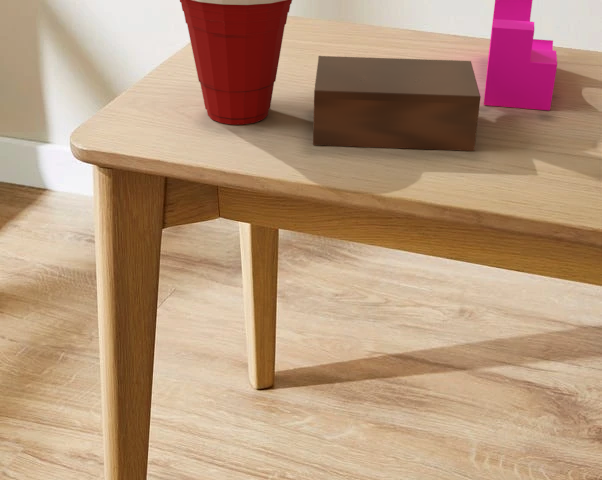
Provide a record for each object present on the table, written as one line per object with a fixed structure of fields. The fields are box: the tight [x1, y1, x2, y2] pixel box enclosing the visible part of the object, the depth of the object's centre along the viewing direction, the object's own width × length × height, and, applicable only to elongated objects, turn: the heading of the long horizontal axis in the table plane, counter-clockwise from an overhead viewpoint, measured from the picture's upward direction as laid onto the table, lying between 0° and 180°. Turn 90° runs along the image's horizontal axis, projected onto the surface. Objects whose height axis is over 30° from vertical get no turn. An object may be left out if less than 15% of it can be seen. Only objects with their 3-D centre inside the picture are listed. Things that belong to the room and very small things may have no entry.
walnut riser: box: [312, 55, 482, 152], centre depth 87 cm, size 14×9×5 cm, turn 87°
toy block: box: [483, 0, 558, 111], centre depth 97 cm, size 15×6×8 cm, turn 169°
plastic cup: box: [179, 0, 293, 125], centre depth 88 cm, size 11×11×12 cm
